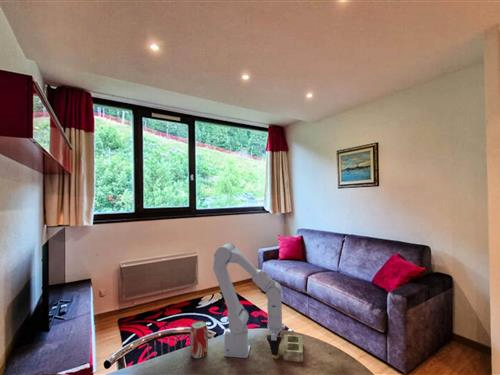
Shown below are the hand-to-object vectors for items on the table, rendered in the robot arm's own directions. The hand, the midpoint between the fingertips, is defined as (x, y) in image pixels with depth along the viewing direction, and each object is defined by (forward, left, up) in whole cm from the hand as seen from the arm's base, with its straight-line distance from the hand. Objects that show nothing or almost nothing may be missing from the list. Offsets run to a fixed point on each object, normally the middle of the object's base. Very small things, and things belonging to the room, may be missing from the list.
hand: (275, 348), depth 99 cm
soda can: (-31, -3, -3) cm, 31 cm away
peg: (0, 0, -3) cm, 3 cm away
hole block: (+7, +4, -3) cm, 9 cm away
